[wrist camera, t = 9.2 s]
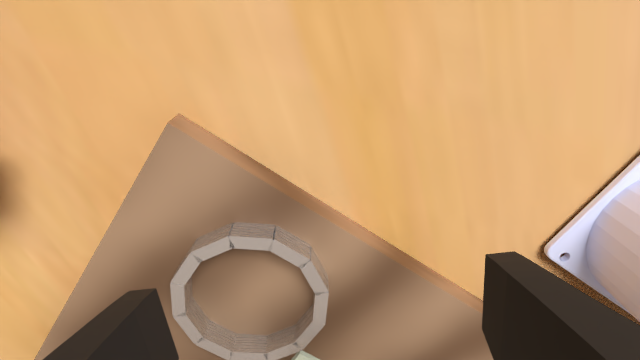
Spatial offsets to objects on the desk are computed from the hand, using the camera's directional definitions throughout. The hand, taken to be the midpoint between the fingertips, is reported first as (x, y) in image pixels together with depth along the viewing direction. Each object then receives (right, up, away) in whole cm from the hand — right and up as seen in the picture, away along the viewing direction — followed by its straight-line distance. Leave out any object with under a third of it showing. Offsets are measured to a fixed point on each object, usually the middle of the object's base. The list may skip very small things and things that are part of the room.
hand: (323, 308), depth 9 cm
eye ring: (-3, -2, +11) cm, 11 cm away
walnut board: (-2, -6, +14) cm, 15 cm away
